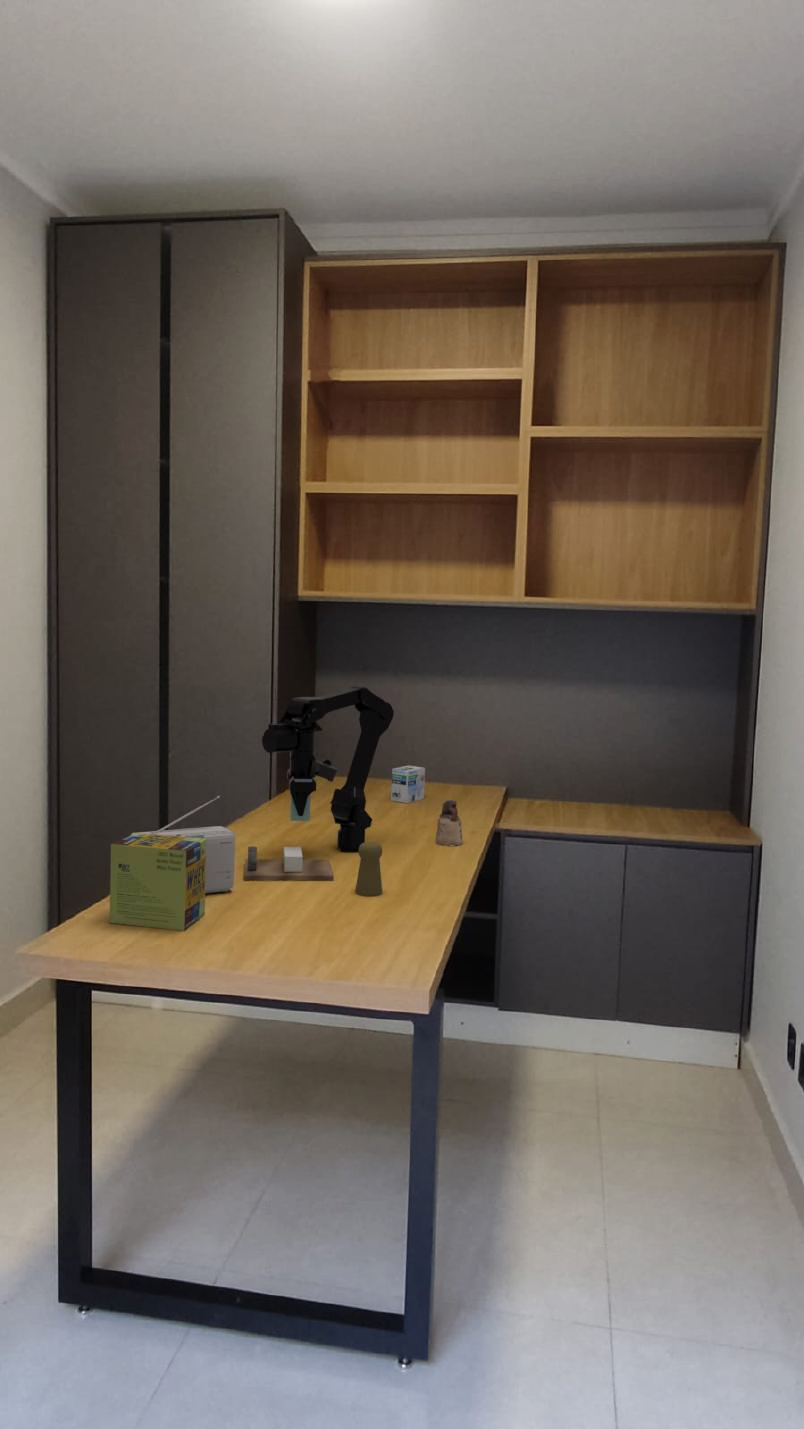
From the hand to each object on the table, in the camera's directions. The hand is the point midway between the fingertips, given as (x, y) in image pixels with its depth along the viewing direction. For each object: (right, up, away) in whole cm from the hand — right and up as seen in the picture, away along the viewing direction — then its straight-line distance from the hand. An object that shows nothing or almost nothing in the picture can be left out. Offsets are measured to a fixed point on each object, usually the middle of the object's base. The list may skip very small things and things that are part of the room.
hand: (300, 813), depth 230 cm
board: (-2, -13, -10) cm, 16 cm away
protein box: (-23, -16, -46) cm, 54 cm away
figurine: (+37, -11, +25) cm, 46 cm away
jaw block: (0, -1, 0) cm, 1 cm away
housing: (-1, -11, -10) cm, 15 cm away
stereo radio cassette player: (-22, -14, -30) cm, 39 cm away
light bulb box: (+26, -4, +83) cm, 87 cm away
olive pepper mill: (+17, -15, -23) cm, 33 cm away
